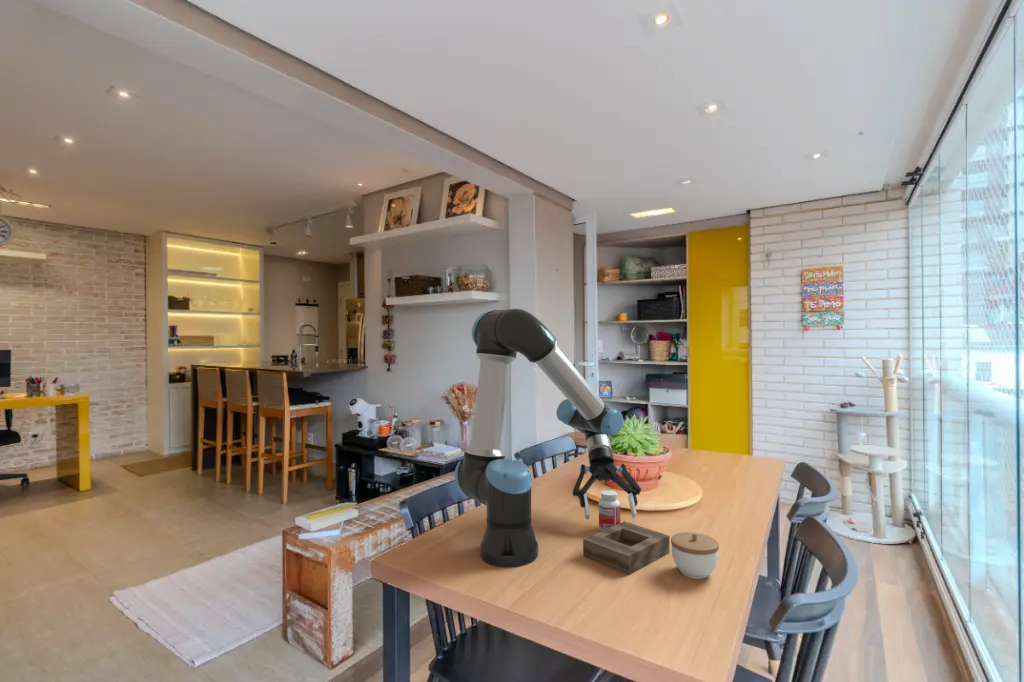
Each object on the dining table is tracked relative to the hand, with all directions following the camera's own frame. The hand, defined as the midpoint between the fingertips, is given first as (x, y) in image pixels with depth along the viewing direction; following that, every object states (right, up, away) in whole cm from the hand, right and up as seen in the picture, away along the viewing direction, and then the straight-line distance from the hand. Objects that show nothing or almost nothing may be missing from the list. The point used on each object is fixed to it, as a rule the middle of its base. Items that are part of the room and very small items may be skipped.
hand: (611, 516), depth 145 cm
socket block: (+1, -5, -14) cm, 15 cm away
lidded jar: (+15, -5, -24) cm, 29 cm away
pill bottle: (0, -5, +2) cm, 5 cm away
